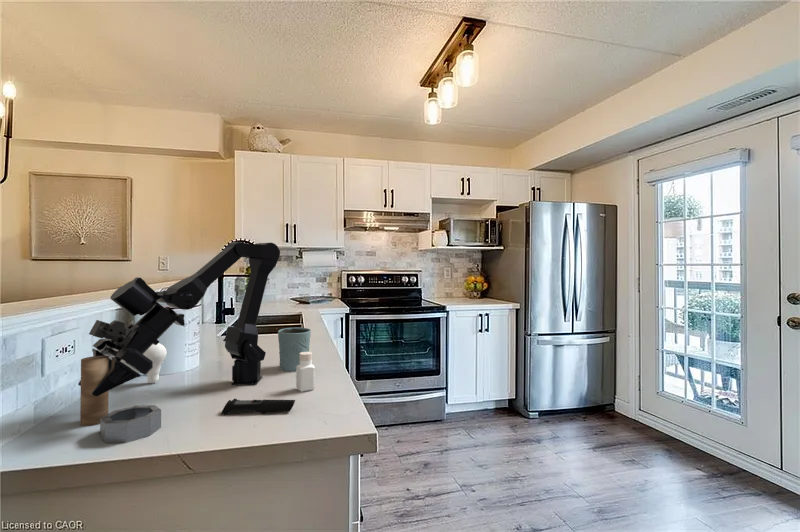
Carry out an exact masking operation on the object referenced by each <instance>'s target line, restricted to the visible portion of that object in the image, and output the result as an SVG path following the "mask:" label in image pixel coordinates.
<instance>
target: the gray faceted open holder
mask: <svg viewBox="0 0 800 532" xmlns="http://www.w3.org/2000/svg"><path fill="white" fill-rule="evenodd" d="M99 428H100V429H99V438H101V440H102V441H103V442H104V443H105V444H113V443H118V444H119V443H129V442H133V441H136V440H140V439H142V438H146V437H150V436H152V435H153V434H154V433H156V432H157V431H158V430H159V429H161V428H162V409H161V408H160V407H159V406H157V405H155V404H145V405H144V404H140V405H132V406H128V407H123V408H118V409H114V410H112V411H110V412H108V414H107V415H105V416H103V417H102V418H100V424H99Z"/></svg>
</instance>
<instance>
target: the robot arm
mask: <svg viewBox="0 0 800 532" xmlns="http://www.w3.org/2000/svg"><path fill="white" fill-rule="evenodd" d="M280 257H281V250H280V249H279V246H278V245H277V244H276V243H274V242H257V243H250V242H249V243H246V242H244V241H233V242H230V243H228V245H227V246H226V247H225V248H223V249H222V250H221V251H220V252H219V253H217V254H216V255H215V256H214V257H212V258H211V259H210V260H209V261H208V262H207V263H205V264H204V265H203V266H202V267H201V268H200V269H198V270H197V271H196V272H194V273H193V274H192V275H190V276H187V277H185V278H184V279H181V280H179V281H177V282H175V283H174V284H172V285H170V286H169V287H167V288H166V290H161V291H155V290H154V289H153V288H152V287H151V286H149V285H148V284H147V282H146V281H145V280H144V279H143V278H142V277H134V278H133V279H132V280H131V281H128V282H126V283H125V284H124V285H121V286H120V287H118V288H117V289H116V290H115V291H114V292H113V293H112V294H111V296H110V298H109V299H110V300H111V301H112V302H114V303H115V304H116V305H117V306H119V307H120V308H122V309H123V310H124V311H125V312H127V313H128V314H129V315H130V316H132V317H134V316H138V315H139V316H142V317H140V318H139V320H137V321H136V322H135V323H134V324H133V323H130V324H127V325H126V324H125V322H123V321H118V320H116V319H114V320H112V321H111V322H110V323H109V322H105V321H102V320H98V319H96V320H95V322H94V324H93V326H92V327H91V329H90V331H89V333H88V335H90V336H91V335H92V336H93V337H95V338H99V339H98V340H97V341H96V342H94V344H93V345H92V347H94V348H92V349H91V351H92V356H109V372H108V373H107V374H106V375H105V377H104V378H103V379H102V380H101V381H100V383H99V384H98V385H97V386H96V388H95V389H94V390H93V392H92V395H94V396H99V395H101V394H103V393H105V392H107V391H111V390H113V389H115V388H117V387H118V386H120V385H121V386H122V385H123V384H126V383H128V382H129V381H132V380H134V379H136V378H140V377H141V376H142V375H143V376H144V375H145V376H146V375H147V373H148V372H149V371H150V370H151V369H152V368H153V361H151V360H150V359H149V358H147V357H146V356H144V355H143V354H144V353H145V352H146V351H147V350H148V349H149V348H150V347H151V345H152V344H154V345H157V344H158V343H160V341H159V338H161V336H163V334H165V332H167V330H168V329H169V328H170V327H171V326H173V324H175V325H176V326H177V325H178V326H181V327H184V326H185V325H186V323H185V314H184V313H177V312H176V311H174V309H176V310H183V311H185V310H186V311H187V310H189V311H190V310H192V309H193V308H195V307H197V305H198V304H199V303H200V301H201V300H202V299H203V297H204V296H205V294H206V292H207V290H208V288H209V287H210V286H211V285H212V284H213V283H214V282H216V281H217V279H219V278H220V277H221V276H222V275H223V274H224V273H225V272H227V270H229V269H230V268H231V267H232V266H233V265H235V263H237V262H238V261H239V260H240V259H241V258H243V259H244V258H245V259H248V266H249V269H250V271H249V273H250V274H249V278H248V280H247V284H246V288H245V292H244V296H243V300H242V303H241V308H240V311H239V315H238V318H237V322H236V323H235V324H234V325H233V326H227V327H226V333H225V334H226V335H225V337H224V339H223V342H224V348H225V349H226V351H227V352H228V354H229V355H230V357H231V359H233V360H234V361H233V362H234V363H233V365H232V367H231V370H232V371H231V381H232V382H231V386H255V385H257V384H259V382H260V381H261V380H262V379H263V376H261V375H262V374H261V371H262V369H261V367H262V365H261V364H262V363H261V362H262V361H264V360H265V356H266V354H267V353H266V351H265V350H264V349H262V348H261V347H260V346H259V345H258V342H259V333H258V328H257V321H258V317H259V314H260V310H261V305H262V301H263V298H264V293H265V290H266V287H267V286H266V285H267V282H268V278H269V275H270V274H271V272H272V271H273V270H274V269H275V267H276V266H277V263H278V261H279V259H280ZM160 303H165V304H166V306H163V305H162V304H160ZM172 308H173V309H172ZM125 325H126V326H125ZM139 373H140V374H139ZM78 386H80V387H81V379H80V380H79V382H78Z"/></svg>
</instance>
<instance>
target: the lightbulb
mask: <svg viewBox="0 0 800 532" xmlns="http://www.w3.org/2000/svg"><path fill="white" fill-rule="evenodd" d="M143 355H144V356H146V357H147V358H149V359H150V360H151V361H153V368H152V369H151V370H150V371H149V372H148V373H147V374H146V375H147V376H146V379H147V382H148V383H150V384H155V383H156V382H158V381H159V378H160V377H159V376H160V372H161V367H162V365H163V362H164V361H165V359H166V357H167V348H166V347H165V346H164V344H162V343H160V342H159V343H158V344H157V345H154V344H152V345H151V347H150V348H149V349H148V350H147V351H146V352H145V353H144V354H143Z"/></svg>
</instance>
